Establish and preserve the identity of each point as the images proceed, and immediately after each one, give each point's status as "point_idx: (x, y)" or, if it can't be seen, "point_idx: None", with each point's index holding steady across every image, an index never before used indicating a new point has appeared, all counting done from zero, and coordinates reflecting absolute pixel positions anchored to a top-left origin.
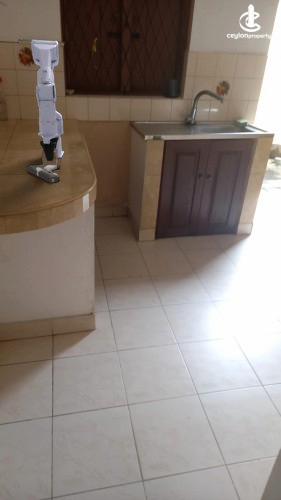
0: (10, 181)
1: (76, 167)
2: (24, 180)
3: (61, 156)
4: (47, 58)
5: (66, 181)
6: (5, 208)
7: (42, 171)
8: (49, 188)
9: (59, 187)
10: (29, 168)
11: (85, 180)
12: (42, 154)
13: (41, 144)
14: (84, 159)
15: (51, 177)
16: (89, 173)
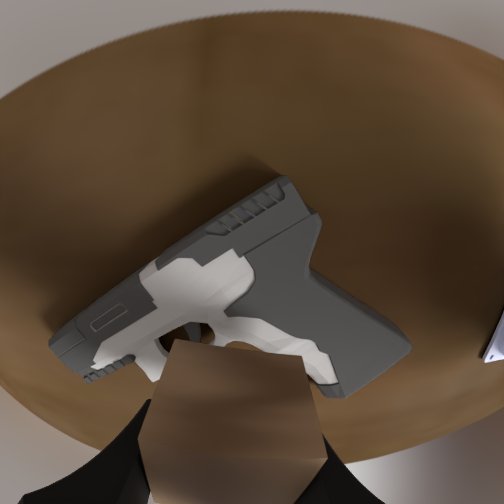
0: (68, 89)
1: None
2: (76, 172)
3: (488, 361)
4: None
5: (97, 393)
6: None
7: (141, 308)
8: (8, 313)
9: (28, 353)
10: (258, 192)
11: None
12: (147, 415)
13: (22, 501)
14: (424, 438)
15: (51, 348)
16: None
